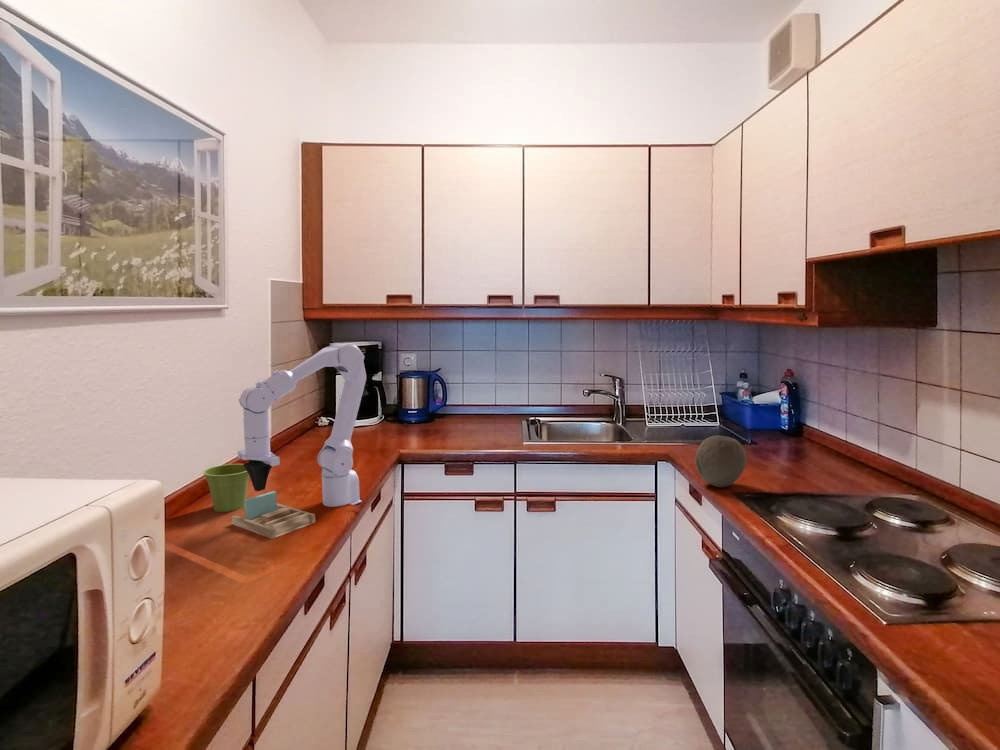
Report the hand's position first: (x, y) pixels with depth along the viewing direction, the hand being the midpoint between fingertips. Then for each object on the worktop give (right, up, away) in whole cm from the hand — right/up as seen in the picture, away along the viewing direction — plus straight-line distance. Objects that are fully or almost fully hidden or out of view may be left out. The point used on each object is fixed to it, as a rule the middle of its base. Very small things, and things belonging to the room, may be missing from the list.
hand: (259, 489), depth 142 cm
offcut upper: (+5, -6, -2) cm, 8 cm away
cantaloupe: (+125, -5, +29) cm, 129 cm away
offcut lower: (+5, -8, -2) cm, 9 cm away
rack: (+4, -9, -2) cm, 10 cm away
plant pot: (-12, -8, +10) cm, 18 cm away
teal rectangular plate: (0, -8, +1) cm, 8 cm away
